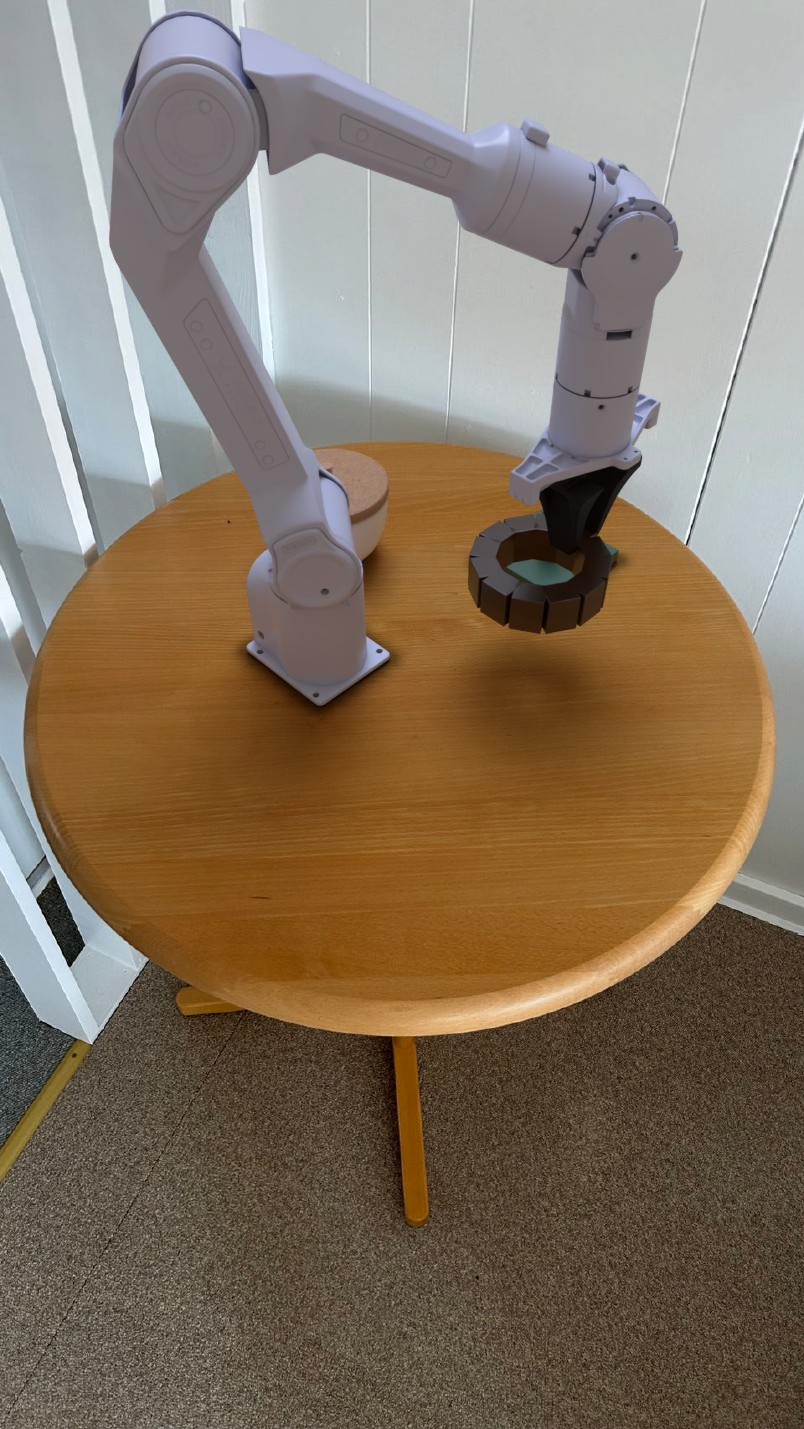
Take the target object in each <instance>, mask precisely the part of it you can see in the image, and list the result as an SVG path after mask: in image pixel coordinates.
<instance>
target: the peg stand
mask: <svg viewBox="0 0 804 1429" xmlns="http://www.w3.org/2000/svg"><path fill="white" fill-rule="evenodd" d="M537 514H543V515H544V511H543V508H541V509H540V510H539V511H537V512H535V513H534V514H533V516H534V518H535V519H536V516H537ZM604 544H605V545H606V547H607V548H608V550H609V551H610V553H611V558H612V563H611V565H613V564H614V563H616V562H617V561H618V556H619V552H620V550H619V549H618V548H616V547H613V546H612V545H610V544H608V543H606V542H604ZM503 571H504V572H506V573H508V574H509V575H511V576H513V577H514V578H516V579H518V580H519V581H521V582H526V583H532V584H538V585H544V586H545V585H550V584H556V583H561V582H567V581H568V580H570V579H571V578H572V577H574V575H573V573H572V572H570V571H568V570H567V569H565V568H563V567H561V566H560V565H558V564H556V563H552V562H546V561H540V560H527V561H521V562H515V563H512V564H511V565H509V566H508V567H506V568H505V569H503Z"/></svg>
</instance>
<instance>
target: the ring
mask: <svg viewBox="0 0 804 1429" xmlns="http://www.w3.org/2000/svg"><path fill="white" fill-rule="evenodd" d="M533 515H534V514H532V513H530V514H525V515H524V514H523V515H518V516H511V517H505V518H503V521H502V520H497V521H496V522H494V523H492V524H491V525H490V526H488V527H486V528H485V529H484V530H482V531H480V532H479V533H478V535H476V536H475V537H474V538H475V539H474V541H473V543H472V546H471V549H470V552H469V555H468V572H467V573H468V574H467V586H468V587H467V589H468V591H469V593H470V595H471V598H472V600H473V602H474V605H475V606H476V609H479V612H480V613H481V614H483V615H484V616H486V617H488V618H489V619H491V620H492V621H494V622H496V623H497V624H498V625H501V626H502V627H506V626H507V625H508V629H510V630H515V631H521V632H526V633H531V634H537V635H541V634H542V630H543V632H544V634H545V635H548V634H554V633H559V632H564V631H569V630H576V629H577V626H579V627H582V626H583V625H585V624H586V623H587V622H589V621H590V620H591V619H592V618H594V617H595V616H596V615H598V614H599V613H600V612H601V611H602V610H601V609H603V608H604V603H605V599H606V594H607V591H608V590H607V589H608V585H609V584H608V583H609V578H610V575H611V574H610V573H611V568H612V564H611V563H612V558H611V553H610V551H609V550H608V548H607V547H606V545H605V544H604V543H605V541H603V539H602V537H601V536H600V535H598V536H596V533H595V532H593V531H591V530H589V529H587V528H586V527H584V529H583V533H582V537H581V540H580V543H579V545H578V548H577V549H576V551H575V552H574V553H573V554H571V555H567V554H565V553H564V552H562V551H560V550H558V549H557V548H555V547H553V546H551V545H550V541H549V535H548V530H547V524H546V519H545V515H543V514H537V516H536V519H535V518H534V516H533ZM527 560H540V561H546V562H552V563H556V564H558V565H560V566H561V567H563V568H565V569H567V570H568V571H570V572H572V573H573V575H574V577H572V578H571V579H570V580H568V581H567V582H561V583H556V584H550V585H545V586H544V585H538V584H532V583H526V582H521V581H519V580H518V579H516V578H514V577H513V576H511V575H509V574H508V573H506V572H504V571H503V569H505V568H506V567H508V566H509V565H511V564H512V563H515V562H521V561H527Z"/></svg>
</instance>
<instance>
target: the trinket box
mask: <svg viewBox="0 0 804 1429" xmlns="http://www.w3.org/2000/svg"><path fill="white" fill-rule="evenodd" d="M312 450H313V451H314V453H315V455H316V457H317V460H318V461H319V463H320V464H321V466H322V467H323V468H324V469H325V470H326V471H328V472H329V473H331V474H332V475H334V476H335V477H337V478H338V479H339V480H340V481H341V482H342V484H343V485H344V487H345V488H346V491H347V493H348V497H349V506H350V507H349V514H350V520H351V526H352V531H353V537H354V543H355V548H356V554H357V556H358V557H359V559H360V560H361V563H362V562H363V560H365V559H366V558H367V557H368V556H369V555H371V554H372V553H373V552H374V550H375V549H376V547H378V545H379V543H380V541H381V539H382V537H383V535H384V532H385V528H386V523H387V519H388V513H389V512H388V511H389V493H390V480H389V476H388V473H387V472H386V470H385V468H384V466H382V465H381V464H380V463H379V462H378V461H376V460H375V459H374V458H372V457H370V456H368V455H367V454H363V453H361V452H358V451H354V450H351V449H350V450H349V449H343V448H319V449H312Z"/></svg>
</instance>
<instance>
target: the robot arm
mask: <svg viewBox="0 0 804 1429" xmlns="http://www.w3.org/2000/svg"><path fill="white" fill-rule="evenodd" d="M238 29H239V30H238V31H239V36H238V35H237V34H236V32H235V31H234V30H233V29H232V28H231V27H230V26H229V25H228V24H227V23H226V22H224V21H223V20H222V19H220V18H218V17H217V16H216V15H213V14H212V13H208V12H206V11H203V10H198V9H192V8H181V9H177V10H172V11H170V12H167V13H165V14H163V15H162V16H160V17H159V18H157V19H156V20H155V21H154V22H153V23H152V24H150V25H149V27H148V28H147V30H146V31H145V32H144V34H143V36H142V38H141V40H140V41H139V45H138V46H137V50H136V52H135V54H134V57H133V59H132V62H131V65H130V67H129V69H128V72H127V75H126V77H125V79H124V82H123V86H122V89H121V94H120V103H119V110H118V117H117V122H116V129H115V132H114V136H113V142H112V174H111V175H112V176H111V191H110V192H111V195H110V214H109V230H108V231H109V232H108V233H109V234H108V244H109V248H110V251H111V254H112V257H113V259H114V261H115V264H116V265H117V267H118V268H119V271H120V272H121V274H122V276H123V278H124V279H125V281H126V282H127V285H128V286H129V288H130V290H131V291H132V293H133V295H134V297H135V298H136V300H137V302H138V303H139V305H140V307H141V309H142V311H143V312H144V314H145V316H146V318H147V319H148V321H149V323H150V324H151V326H152V328H153V330H154V331H155V333H156V336H158V339H159V340H160V342H161V344H162V346H163V347H164V349H165V350H166V352H167V354H168V356H169V358H170V359H171V361H172V363H173V365H174V366H175V367H176V370H177V372H178V374H179V375H180V378H182V381H183V382H184V384H185V385H186V387H187V389H188V391H189V393H190V394H191V396H192V398H193V400H194V401H195V403H196V405H197V406H198V408H199V410H200V412H201V413H202V415H203V417H204V419H205V420H206V422H207V424H208V426H209V427H210V429H211V431H212V432H213V435H214V436H215V438H216V440H217V441H218V443H219V445H220V447H221V449H222V450H223V452H224V454H225V455H226V457H227V458H228V460H229V462H230V465H231V466H232V467H233V469H234V471H235V473H236V474H237V476H238V479H239V480H240V482H241V483H242V485H243V487H244V488H245V490H246V492H247V494H248V495H249V498H250V502H251V504H252V507H253V512H254V514H255V518H256V522H257V525H258V528H259V531H260V534H261V535H260V536H261V537H262V541H263V543H264V546H265V547H266V549H265V550H264V551H263V552H262V553H261V554H259V556H258V557H256V559H255V561H254V562H253V563H252V565H251V566H250V569H249V572H248V575H247V578H246V582H245V592H246V598H247V604H248V609H249V615H250V622H251V628H252V633H253V640H252V641H250V642H249V643H248V644H247V645H246V650H247V653H249V654H250V655H252V656H253V657H254V658H256V660H258V661H260V663H262V664H263V665H265V666H266V667H267V668H269V669H270V670H271V671H272V672H273V673H275V674H276V675H277V676H279V677H280V678H281V679H283V680H284V682H286V683H288V684H289V685H290V686H292V687H293V688H294V689H295V690H297V692H299V693H301V695H303V696H304V697H305V698H306V699H308V700H309V701H311V702H312V703H313V704H315V705H316V706H319V707H321V706H324V705H326V704H327V703H329V702H331V701H332V700H333V699H334V698H336V697H337V696H339V695H340V694H342V693H343V692H344V691H346V690H348V689H349V688H350V687H351V686H353V685H354V684H356V683H358V682H359V681H361V680H362V679H363V678H364V677H367V675H369V674H370V673H372V672H373V671H374V670H376V669H377V668H379V667H381V666H382V665H383V664H385V663H386V662H387V661H389V659H390V658H391V655H390V652H389V651H388V650H387V649H385V648H384V647H383V646H381V645H379V644H378V643H377V642H375V641H374V640H372V639H371V638H369V637H368V636H367V624H366V605H365V603H366V602H365V584H364V566H363V563H362V562H361V560H360V559H359V557H358V556H357V554H356V548H355V543H354V537H353V531H352V526H351V520H350V514H349V507H350V506H349V497H348V493H347V491H346V488H345V487H344V485H343V484H342V482H341V481H340V480H339V479H338V478H337V477H335V476H334V475H332V474H331V473H329V472H328V471H326V470H325V469H324V468H323V467H322V466H321V464H320V463H319V461H318V460H317V457H316V455H315V453H314V451H313V450H314V449H311V448H310V447H307V446H305V444H304V442H303V440H302V438H301V436H300V434H299V433H298V432H299V431H298V430H297V428H296V426H295V424H294V422H293V420H292V418H291V416H290V414H289V412H288V410H287V407H286V406H285V404H284V401H283V399H282V398H281V396H280V394H279V391H278V390H277V388H276V385H275V383H274V381H273V379H272V377H271V375H270V374H269V372H268V370H267V367H266V365H265V364H264V362H263V359H262V357H261V355H260V353H259V351H258V349H257V347H256V345H255V343H254V341H253V339H252V337H251V335H250V333H249V331H248V328H247V327H246V325H245V323H244V321H243V319H242V317H241V315H240V313H239V311H238V308H237V307H236V305H235V303H234V300H233V299H232V296H231V295H230V292H229V291H228V288H227V286H226V284H225V283H224V281H223V278H222V277H221V274H220V272H219V270H218V268H217V266H216V265H215V262H214V260H213V258H212V257H211V254H210V252H209V251H208V249H207V246H206V244H205V241H206V238H207V235H208V233H209V230H210V227H211V225H212V223H213V220H214V217H215V215H216V212H217V211H218V210H219V209H220V208H221V207H222V206H223V205H224V204H225V203H226V202H227V201H228V200H229V199H230V198H231V197H232V196H233V195H234V194H235V193H236V192H237V191H238V189H239V188H240V187H241V186H242V184H244V182H245V181H246V179H247V178H248V176H249V175H250V174H251V172H252V170H253V169H254V166H255V165H256V162H257V159H258V155H259V152H260V151H262V152H263V151H265V153H266V154H265V155H266V162H267V169H268V174H269V176H275V175H278V174H280V173H282V172H284V171H287V170H289V169H290V168H292V167H294V166H296V165H298V164H300V163H302V162H304V161H306V160H308V159H310V158H311V157H313V156H315V155H318V154H324V155H326V156H331V157H332V158H336V159H338V160H341V161H344V162H347V163H349V164H352V165H356V166H358V167H361V168H364V169H367V170H369V171H372V172H375V173H377V174H381V175H383V176H386V177H389V178H392V179H395V180H398V181H400V182H402V183H403V182H404V183H407V184H409V185H412V186H415V187H417V188H420V189H423V190H426V191H429V192H431V193H434V194H438V195H440V196H442V197H445V198H448V199H450V200H451V203H452V206H453V209H454V212H455V215H456V218H457V221H458V223H459V225H460V228H462V229H463V230H464V231H466V232H468V233H471V234H474V235H476V236H477V237H480V238H482V239H485V240H487V241H490V242H492V243H495V244H497V245H501V246H502V247H505V248H508V249H510V250H513V251H515V252H518V253H520V254H522V255H525V256H528V257H530V258H533V259H534V260H536V261H540V262H542V263H545V264H548V266H549V265H550V266H552V267H555V268H558V269H567V273H566V274H567V275H566V284H565V289H564V290H565V291H564V300H563V304H562V307H561V316H560V325H559V335H558V343H557V351H556V352H557V353H556V359H555V360H556V361H555V370H554V378H553V387H552V397H551V405H550V414H549V422H548V425H547V426H546V428H545V429H544V431H543V432H542V434H541V435H540V437H539V438H538V439H537V441H536V442H535V444H534V445H533V447H532V448H531V450H530V451H529V452H528V454H527V455H526V457H525V458H524V459H523V461H521V463H520V464H518V465H517V466H516V467H514V468H513V469H512V470H511V471H509V472H510V473H509V485H508V496H510V497H511V498H513V499H515V500H516V501H519V502H521V503H522V504H524V505H526V506H528V507H532V506H534V505H535V504H537V503H540V505H541V509H543V511H544V515H545V519H546V524H547V530H548V535H549V541H550V545H551V546H553V547H555V548H557V549H558V550H560V551H562V552H564V553H565V554H567V555H571V554H573V553H574V552H575V551H576V549H577V548H578V545H579V543H580V540H581V537H582V533H583V529H584V527H586V528H587V529H589V530H591V531H593V532H595V533H596V536H599V534H600V532H601V531H602V528H603V526H604V524H605V522H606V520H607V517H608V516H609V514H610V512H611V509H612V508H613V505H614V503H615V502H616V499H617V498H618V496H619V494H620V493H621V491H622V490H623V488H624V487H625V486H626V484H627V482H628V481H629V480H630V479H631V477H632V476H633V475H634V473H636V472H637V471H638V469H640V467H641V466H642V461H643V455H642V450H641V449H639V448H638V447H635V446H636V443H637V442H638V439H639V438H640V436H641V434H642V432H643V431H644V429H645V430H650V429H652V428H653V427H655V426H656V425H658V424H657V423H658V420H659V414H660V409H661V404H662V401H660V400H658V399H656V398H654V397H651V396H649V395H646V394H645V393H642V392H640V389H641V388H640V387H641V382H642V376H643V372H644V366H645V362H646V356H647V351H648V345H649V340H650V339H649V338H650V333H651V329H652V324H653V317H654V309H655V304H656V299H657V297H658V295H659V294H660V293H661V291H662V290H663V289H664V288H665V287H666V286H667V284H668V283H669V282H670V281H671V280H672V278H673V277H674V275H675V273H676V272H677V271H678V268H679V266H680V263H681V261H682V259H683V258H682V257H683V254H684V251H683V250H682V249H680V247H679V246H678V245H679V231H678V227H677V222H676V220H675V219H674V218H673V214H672V213H671V212H670V211H669V209H668V208H667V207H666V206H665V205H664V203H663V202H662V201H661V200H660V199H659V197H658V196H657V195H656V194H655V193H654V192H653V190H652V189H651V188H650V187H649V185H647V183H646V182H645V180H643V179H642V178H641V177H640V176H638V175H637V174H636V173H634V172H632V171H631V170H630V169H629V168H628V167H627V165H626V164H625V163H622V162H615V161H613V160H611V159H609V158H607V157H604V156H602V157H599V160H598V161H597V163H595V162H593V161H590V160H588V159H586V158H584V157H583V156H580V155H577V154H576V153H573V152H571V151H569V150H566V149H565V148H562V147H560V146H558V145H556V144H554V143H552V142H549V140H550V137H551V134H550V132H549V131H548V130H547V128H546V127H545V125H543V124H542V123H540V122H537V121H535V120H533V119H531V118H529V117H526V118H524V119H523V121H522V123H521V125H520V127H517V126H515V125H513V124H510V123H509V122H506V121H502V120H501V121H497V122H495V123H491V124H489V125H487V126H486V127H483V128H481V129H479V130H476V131H474V132H471V133H467V132H465V131H463V130H461V129H459V128H457V127H455V126H453V125H451V124H450V123H447V122H446V121H443V120H442V119H439V118H438V117H435V116H433V115H431V114H429V113H427V112H426V111H423V110H421V109H420V108H417V107H416V106H414V105H411V104H410V103H408V102H405V101H404V100H402V99H400V98H398V97H396V96H394V95H392V94H390V93H388V92H386V91H384V90H383V89H380V88H378V87H376V86H374V85H372V84H370V83H368V82H366V81H365V80H362V79H360V78H359V77H357V76H354V75H352V74H351V73H348V72H347V71H344V70H343V69H341V68H338V66H337V67H336V66H335V65H333V64H331V63H329V62H327V61H325V60H323V59H321V58H319V57H317V56H315V55H313V54H311V53H308V52H307V51H304V50H303V49H301V48H298V47H296V46H294V45H293V44H289V43H288V42H285V41H284V40H281V39H279V38H276V37H274V36H273V35H271V34H268V33H266V32H264V31H261V30H259V29H258V30H257V29H254V28H249V27H247V26H243V25H242V26H241V25H239V26H238Z"/></svg>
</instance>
